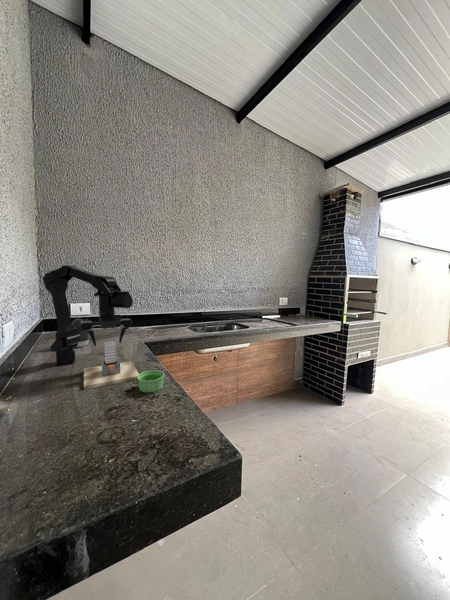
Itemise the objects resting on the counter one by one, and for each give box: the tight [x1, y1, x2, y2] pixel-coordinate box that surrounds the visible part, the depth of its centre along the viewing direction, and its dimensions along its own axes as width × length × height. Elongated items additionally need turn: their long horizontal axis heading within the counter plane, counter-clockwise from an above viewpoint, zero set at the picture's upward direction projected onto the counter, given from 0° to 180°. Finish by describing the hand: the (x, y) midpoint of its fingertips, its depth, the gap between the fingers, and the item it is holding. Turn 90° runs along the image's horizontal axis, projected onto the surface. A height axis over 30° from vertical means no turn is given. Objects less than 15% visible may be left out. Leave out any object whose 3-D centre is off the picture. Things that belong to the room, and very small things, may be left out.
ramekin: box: [136, 369, 165, 393], centre depth 82 cm, size 9×9×4 cm
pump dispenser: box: [71, 318, 91, 348], centre depth 130 cm, size 10×10×15 cm
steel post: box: [103, 340, 117, 364], centre depth 92 cm, size 4×4×7 cm
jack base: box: [83, 358, 140, 390], centre depth 92 cm, size 18×18×5 cm
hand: (107, 344), depth 99 cm, fingers open, 9 cm apart
